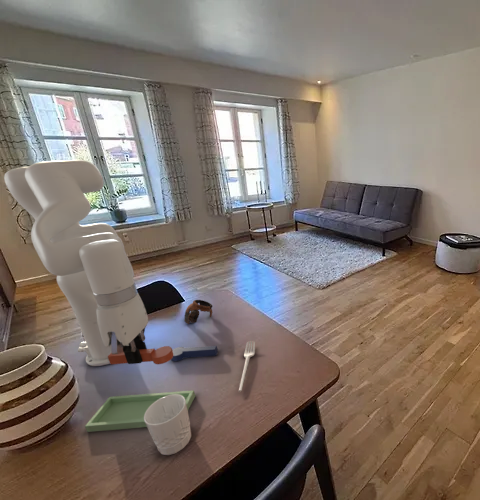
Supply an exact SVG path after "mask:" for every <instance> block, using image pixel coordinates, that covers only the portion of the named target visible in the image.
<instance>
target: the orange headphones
mask: <svg viewBox="0 0 480 500" xmlns="http://www.w3.org/2000/svg"><path fill="white" fill-rule="evenodd" d="M212 308H213V305H212V303H210V302H208V301H206V300H203V299H193V301H192V303H190V304H189V305H188V306H186V309H185V312H184V320H183V322H185V324H187V325H191V324H196V323H197V322H198V318H199V316H200V312H205V313H206V312H207V313H209V318H211V317H213V309H212Z"/></svg>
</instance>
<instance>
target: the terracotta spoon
mask: <svg viewBox="0 0 480 500" xmlns="http://www.w3.org/2000/svg"><path fill="white" fill-rule="evenodd" d="M172 350H173V348H172V346H170V345H164V346H159V347H158V348H147V349H141V350H139V351H140V354H141V357H142V360H143V361H142V362H141V363H148V362H153V364H155V365H163V364H166V363H167V362H169V361H172V360H171V359H172V358H173V351H172ZM108 359H109V361H110V365H120V364H128V363H127V360H126V357H125V354H124V352H122V353H120V354H112V352H111V353H110V354H109V355H108Z"/></svg>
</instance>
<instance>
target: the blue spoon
mask: <svg viewBox="0 0 480 500" xmlns="http://www.w3.org/2000/svg"><path fill="white" fill-rule="evenodd" d="M172 351H173V358H172V359H171V360H170V361H171V362H178V361H182V360H183V359H189V358H202V357H216V356H217V354H218V353H219V349H218V346H217V345H209V346H208V345H207V346H195V347H194V346H192V347H191V346H190V347H185V346H177V347H174V348H172Z"/></svg>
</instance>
